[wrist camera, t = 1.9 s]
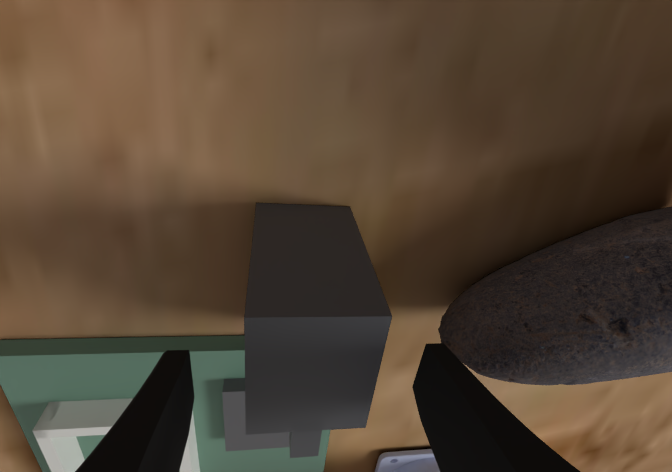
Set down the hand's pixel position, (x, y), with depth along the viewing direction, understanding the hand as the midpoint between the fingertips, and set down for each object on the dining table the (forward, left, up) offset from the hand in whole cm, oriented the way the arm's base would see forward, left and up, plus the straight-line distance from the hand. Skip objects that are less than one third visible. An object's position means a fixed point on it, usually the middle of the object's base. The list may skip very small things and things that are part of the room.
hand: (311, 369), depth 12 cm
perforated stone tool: (-14, 0, -7) cm, 15 cm away
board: (+5, +12, -7) cm, 15 cm away
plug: (0, 0, -7) cm, 7 cm away
